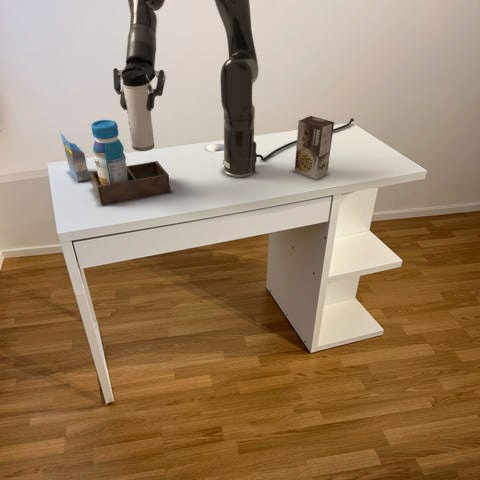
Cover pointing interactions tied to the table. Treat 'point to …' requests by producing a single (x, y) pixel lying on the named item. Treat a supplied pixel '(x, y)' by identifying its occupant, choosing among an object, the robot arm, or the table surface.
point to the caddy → (133, 184)
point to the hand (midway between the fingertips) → (136, 108)
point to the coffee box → (313, 146)
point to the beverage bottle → (108, 153)
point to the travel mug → (138, 108)
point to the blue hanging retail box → (76, 160)
